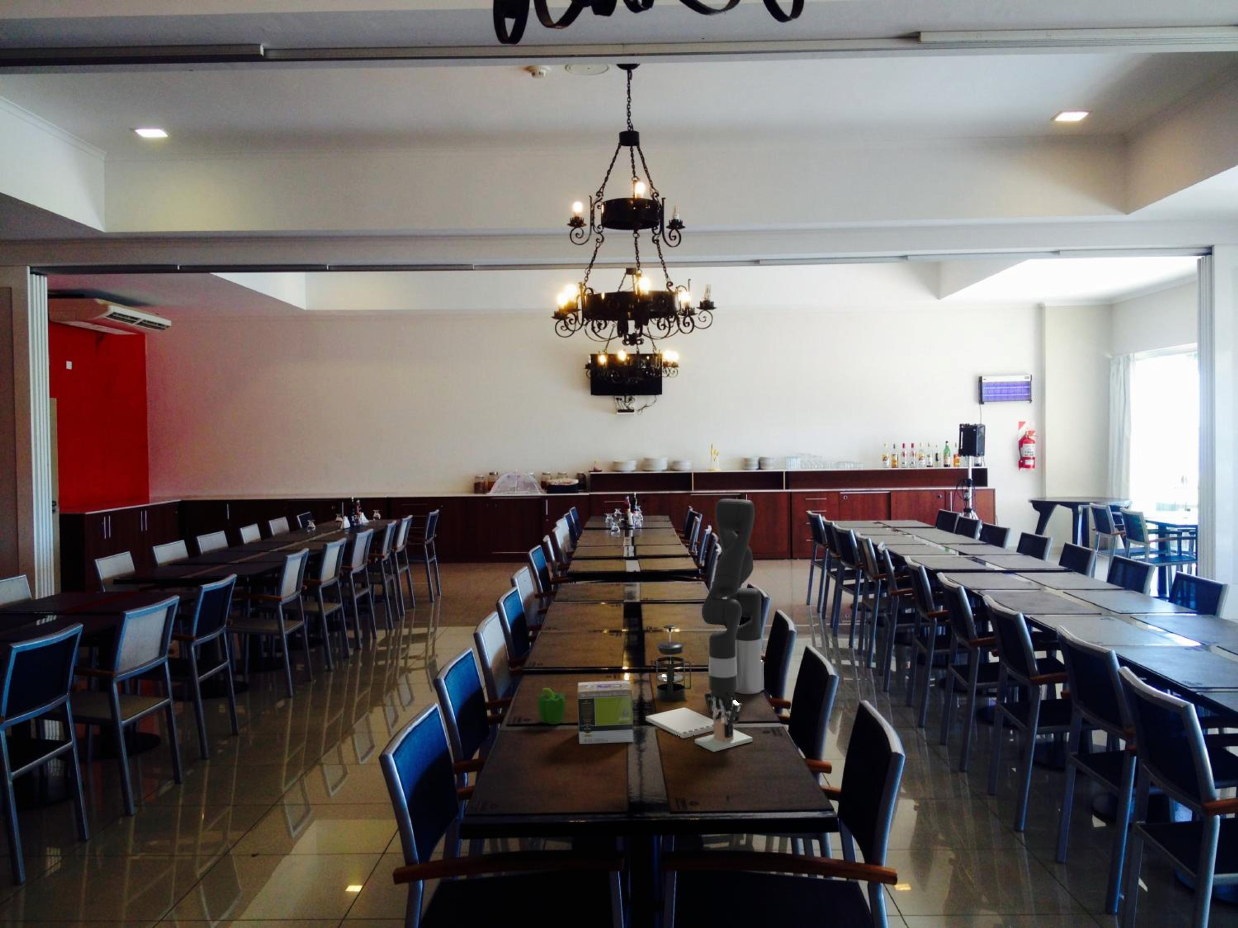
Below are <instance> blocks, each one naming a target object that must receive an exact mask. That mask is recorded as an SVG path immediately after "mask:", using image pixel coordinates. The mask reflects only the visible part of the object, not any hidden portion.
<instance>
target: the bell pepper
mask: <svg viewBox="0 0 1238 928" xmlns="http://www.w3.org/2000/svg"><path fill="white" fill-rule="evenodd" d="M542 691H543V692H544V693H543V694H540V695H539V697H538V699H537V702H536V703H537V704H536V705H537V706H536V707H537V711H538V715H539V717H540V721H541V722H542V723H543V724H544V723H545V724H550V725H557V724H560V723H561V722H563V720H564V717H565V713H566V708H567V707H566V706H567V705H566V703H567V701H566V697H565V694H564V693H562V692H561V693H557V692H554V691H553V690H552V689H550V688H549V687H544V688H542ZM545 692H548V694H547V693H545Z"/></svg>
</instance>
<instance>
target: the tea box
mask: <svg viewBox="0 0 1238 928" xmlns="http://www.w3.org/2000/svg"><path fill="white" fill-rule="evenodd" d="M632 693H633V692H632V686H631V680H630V679H623V680H602V681H601V680H600V681H582V682H581V681H580V682H578V683H577V719H578V723H577V724H578V725H577V726H578V743H579V744H580V745H585V744H586V745H589V744H591V745H592V744H608V743H609V744H610V743H611V744H612V743H615V744H616V743H634V720H633V719H634V718H633V717H634V715H633V694H632Z"/></svg>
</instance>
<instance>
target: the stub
mask: <svg viewBox="0 0 1238 928" xmlns="http://www.w3.org/2000/svg"><path fill="white" fill-rule="evenodd" d="M729 718H730V717H728V719H729ZM713 720H714V719H713ZM724 724H725V722H724V716H722V718H719V719H715V720H714V731H713V734H709V735H706V736H702V737H698V738H695V739H694V743H695V744H696V745H699V746H701V747H703V748H704V749H707V750H708V751H711V752H713V753H714V752H718V751H722V750H726V749H728V748H729V749H730V748H733V747H736V746H739V745H743V744H747V743H750V742H751V743H752V742H753V737H752V736H750V735H747V734H745V733H743V732H740V731H739V730H736V729H734V728H733V736H732V737H730V738H725V730H724Z"/></svg>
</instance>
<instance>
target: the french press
mask: <svg viewBox="0 0 1238 928" xmlns="http://www.w3.org/2000/svg"><path fill="white" fill-rule="evenodd" d="M663 629H668V633H669V636H668V637H669V639H668V640H669V641H661V642H658V643H655V646H656V648H657V649H658V651H659V653H660V654H661V655H665V656H662V657H659V658H658V657H657V658H656V662H655V663H656V665H655V666H656V669H655V670H656V696H655V698H656V699H657V700H658V701H660V702H663V703H664V702H665V703H678V702H682V701H684V700H685V699H686V697H687V696H686V690H692V675H691V674H692V664H691V663H692V661H691V660H685V658H682V657H680V656H675V655H681V654H682V653H684V647H685V644H684V643H682V642H679V641H671V639H672V637H671V633H672V629H677V626H676V625H675V624H673V625H672V624H666V625H664V626H663ZM666 655H667V656H666ZM665 662H668V663H665ZM675 662H676V663H675ZM677 662H678V663H677ZM686 664H689V686H686V676H685V675H686V671H685V669H686V667H685V665H686ZM658 667H659V668H664V669H666V673H665V674H661V675H658V672H659V670H658ZM682 667H683V675H681V674H678V673H675V669H676V668H682ZM658 681H659V682H661V684H659V683H658ZM681 682H683V684H681Z"/></svg>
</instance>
